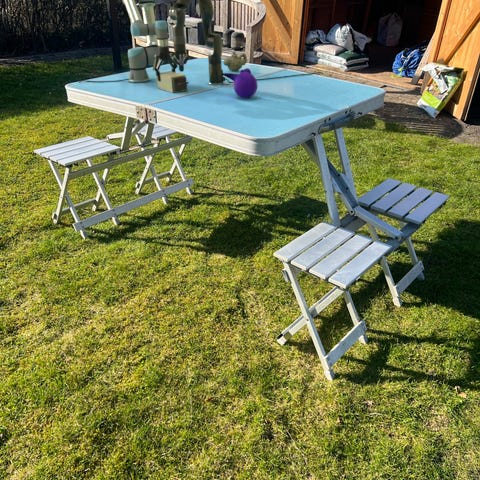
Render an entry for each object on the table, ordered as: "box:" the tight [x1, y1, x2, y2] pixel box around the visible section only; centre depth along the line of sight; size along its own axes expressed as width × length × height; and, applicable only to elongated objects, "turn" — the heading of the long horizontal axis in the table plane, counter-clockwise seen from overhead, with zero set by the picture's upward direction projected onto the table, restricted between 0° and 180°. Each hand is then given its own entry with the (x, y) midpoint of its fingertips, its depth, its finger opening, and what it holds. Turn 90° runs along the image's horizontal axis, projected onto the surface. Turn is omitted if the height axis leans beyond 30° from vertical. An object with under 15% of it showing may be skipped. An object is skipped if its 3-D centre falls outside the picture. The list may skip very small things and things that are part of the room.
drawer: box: [172, 76, 190, 93], centre depth 307 cm, size 24×10×8 cm, turn 38°
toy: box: [222, 67, 258, 99], centre depth 286 cm, size 16×18×27 cm
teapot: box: [222, 51, 248, 73], centre depth 364 cm, size 21×12×15 cm, turn 120°
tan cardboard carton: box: [156, 70, 186, 93], centre depth 310 cm, size 20×11×10 cm, turn 38°
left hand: (166, 79), depth 315 cm, fingers closed on tan cardboard carton, 11 cm apart
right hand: (181, 71), depth 296 cm, fingers closed
